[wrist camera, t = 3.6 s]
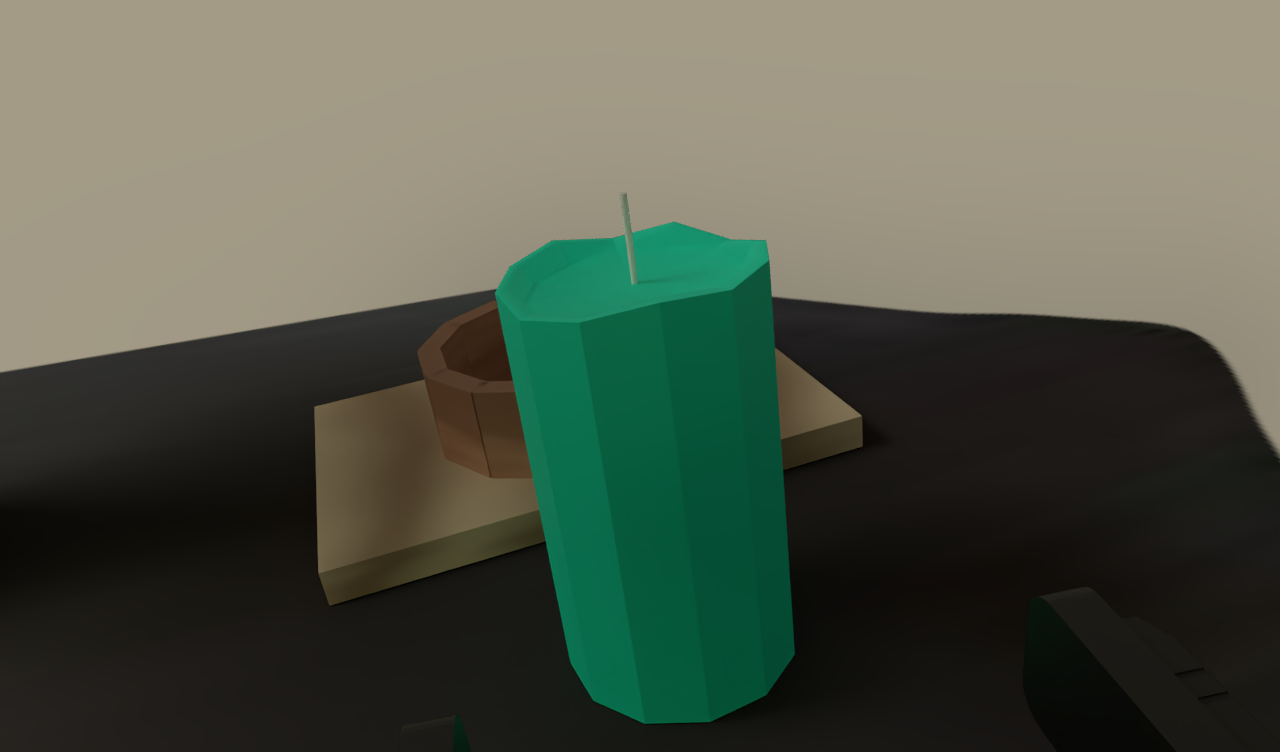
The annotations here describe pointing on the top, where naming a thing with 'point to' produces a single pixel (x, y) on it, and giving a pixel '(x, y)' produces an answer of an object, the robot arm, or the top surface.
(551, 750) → the top surface
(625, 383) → the candle
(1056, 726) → the robot arm
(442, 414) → the cup stand
